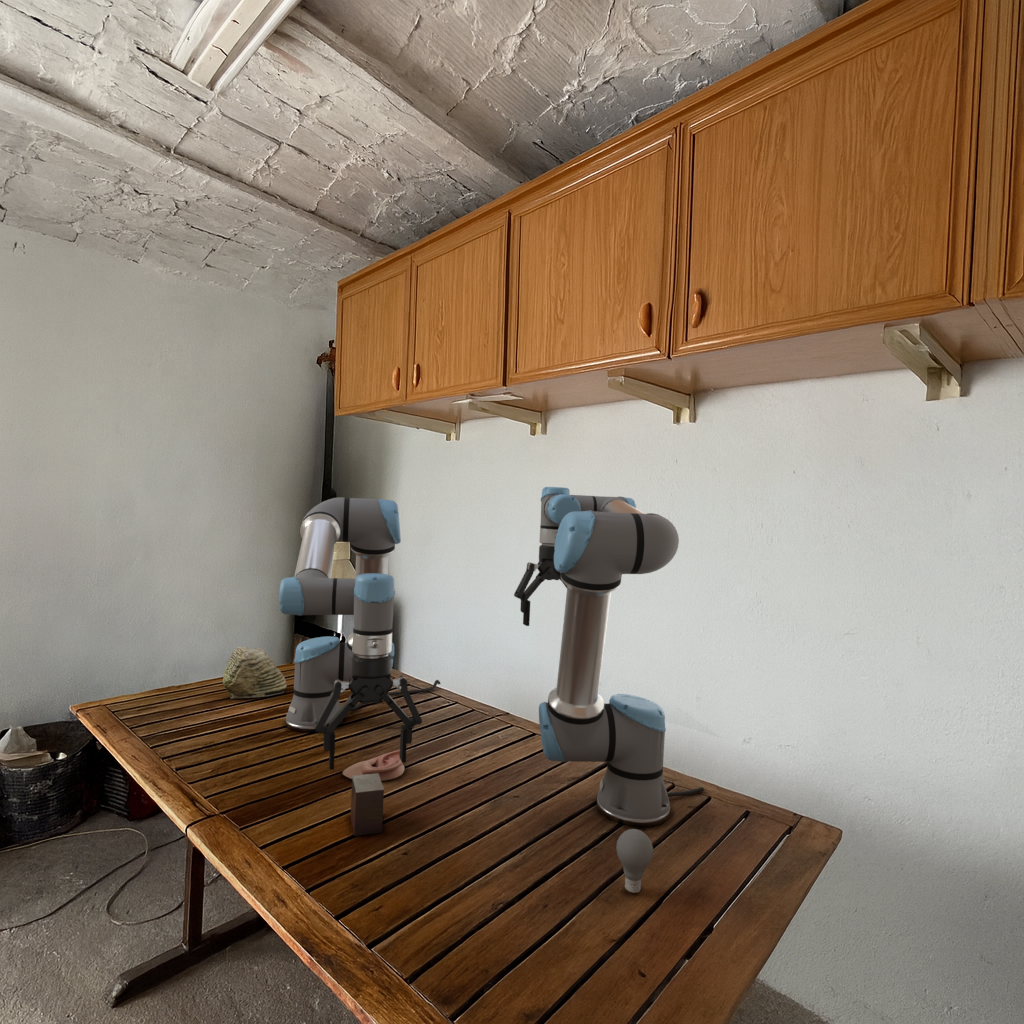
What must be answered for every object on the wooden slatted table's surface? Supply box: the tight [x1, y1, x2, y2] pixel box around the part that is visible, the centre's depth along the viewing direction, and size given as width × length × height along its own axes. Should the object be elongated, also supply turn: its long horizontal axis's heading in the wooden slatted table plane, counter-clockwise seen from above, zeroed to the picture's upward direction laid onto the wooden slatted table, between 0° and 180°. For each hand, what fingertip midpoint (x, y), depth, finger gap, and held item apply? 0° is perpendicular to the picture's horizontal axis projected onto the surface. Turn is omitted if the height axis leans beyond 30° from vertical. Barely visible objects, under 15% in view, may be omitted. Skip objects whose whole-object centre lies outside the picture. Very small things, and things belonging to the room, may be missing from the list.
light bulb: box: [615, 828, 654, 894], centre depth 106 cm, size 6×6×10 cm
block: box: [350, 773, 385, 837], centre depth 123 cm, size 5×7×8 cm
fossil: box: [222, 646, 288, 699], centre depth 198 cm, size 9×18×15 cm, turn 132°
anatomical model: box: [342, 749, 405, 782], centre depth 146 cm, size 13×4×12 cm
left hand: (367, 763), depth 123 cm, fingers open, 13 cm apart
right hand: (549, 624), depth 169 cm, fingers open, 13 cm apart
